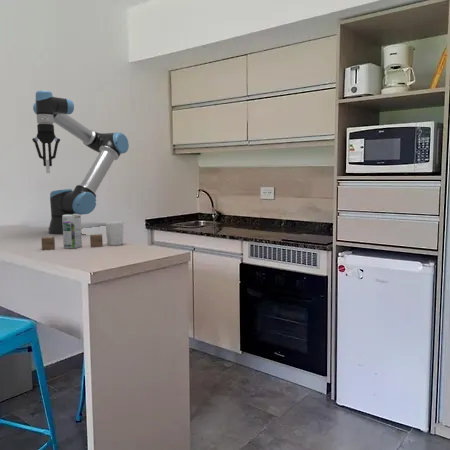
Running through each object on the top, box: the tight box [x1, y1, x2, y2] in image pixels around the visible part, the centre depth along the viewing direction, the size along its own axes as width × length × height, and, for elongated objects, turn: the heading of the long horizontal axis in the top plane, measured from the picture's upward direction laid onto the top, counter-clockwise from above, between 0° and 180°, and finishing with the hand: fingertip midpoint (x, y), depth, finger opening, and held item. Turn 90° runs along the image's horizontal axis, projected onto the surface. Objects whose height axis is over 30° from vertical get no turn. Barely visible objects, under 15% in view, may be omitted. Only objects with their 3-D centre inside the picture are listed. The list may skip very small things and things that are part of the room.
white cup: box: [105, 221, 124, 246], centre depth 205 cm, size 8×8×10 cm
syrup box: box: [62, 214, 83, 250], centre depth 198 cm, size 6×6×14 cm
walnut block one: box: [89, 233, 104, 248], centre depth 202 cm, size 5×5×5 cm
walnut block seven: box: [41, 236, 56, 251], centre depth 195 cm, size 5×5×5 cm
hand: (48, 173), depth 222 cm, fingers closed
